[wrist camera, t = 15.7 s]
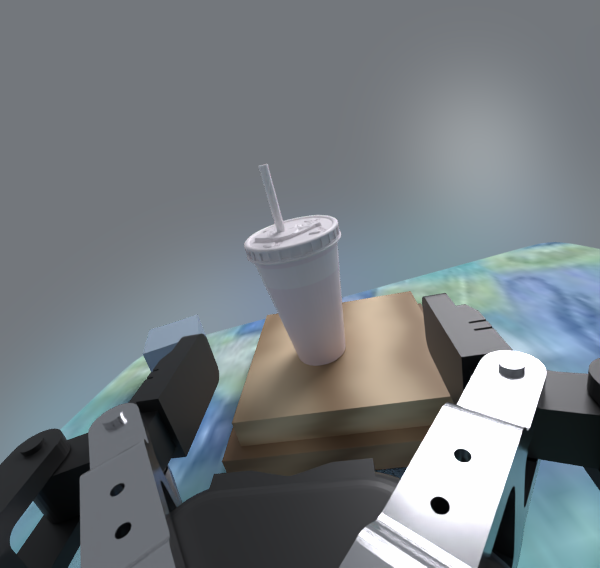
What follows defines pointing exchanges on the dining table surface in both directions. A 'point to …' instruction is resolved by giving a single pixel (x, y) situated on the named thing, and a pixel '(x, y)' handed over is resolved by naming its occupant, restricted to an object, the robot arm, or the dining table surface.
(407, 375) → the plinth
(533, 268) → the dining table surface
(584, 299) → the dining table surface
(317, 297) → the smoothie
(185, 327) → the slate cube
